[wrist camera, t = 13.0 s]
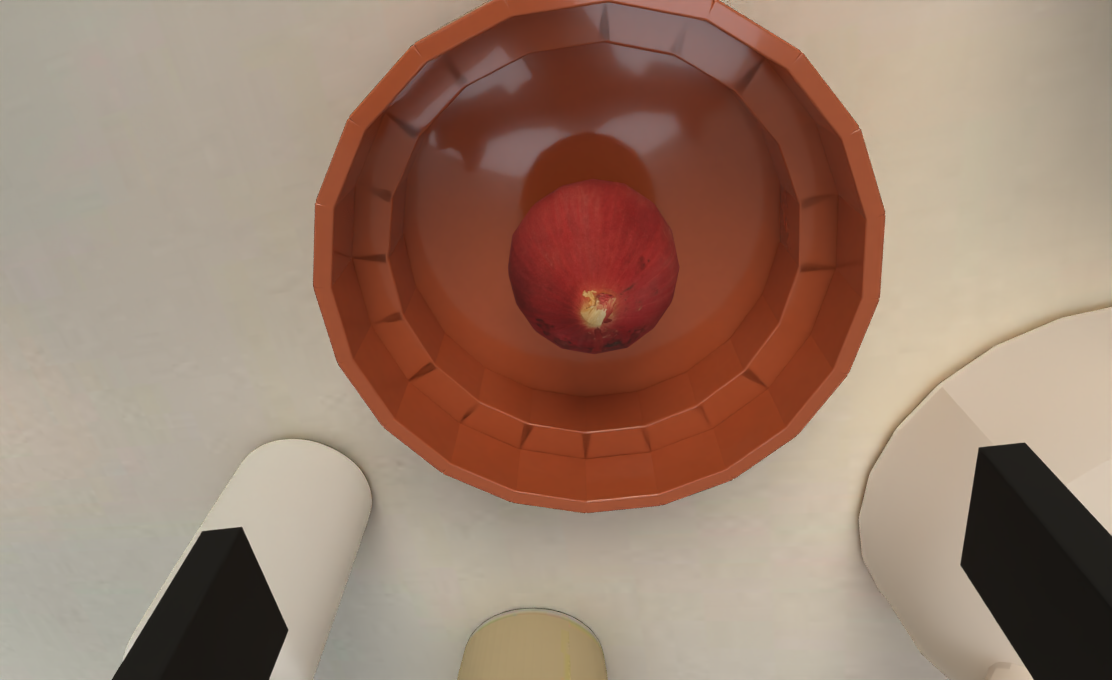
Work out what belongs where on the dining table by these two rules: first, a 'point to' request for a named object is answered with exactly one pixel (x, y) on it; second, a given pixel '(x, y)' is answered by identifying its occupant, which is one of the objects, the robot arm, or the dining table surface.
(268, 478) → the can
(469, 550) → the dining table surface
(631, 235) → the onion
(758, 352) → the bowl
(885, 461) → the kettle
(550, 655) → the coffee cup
